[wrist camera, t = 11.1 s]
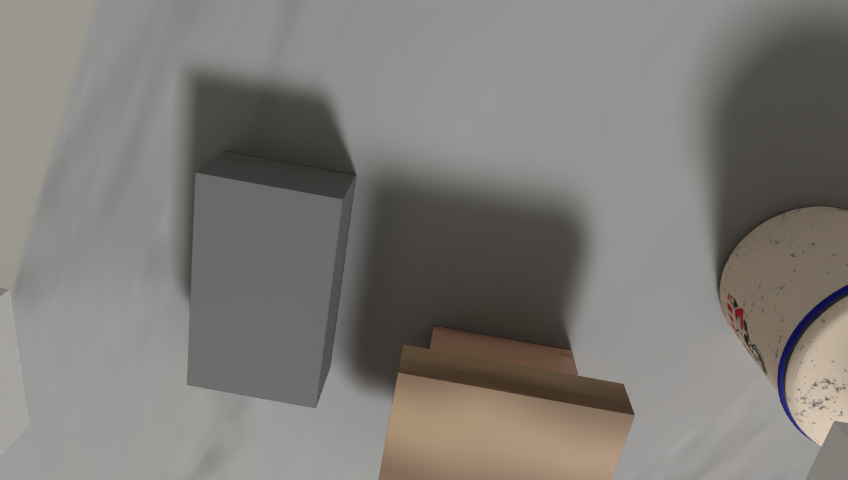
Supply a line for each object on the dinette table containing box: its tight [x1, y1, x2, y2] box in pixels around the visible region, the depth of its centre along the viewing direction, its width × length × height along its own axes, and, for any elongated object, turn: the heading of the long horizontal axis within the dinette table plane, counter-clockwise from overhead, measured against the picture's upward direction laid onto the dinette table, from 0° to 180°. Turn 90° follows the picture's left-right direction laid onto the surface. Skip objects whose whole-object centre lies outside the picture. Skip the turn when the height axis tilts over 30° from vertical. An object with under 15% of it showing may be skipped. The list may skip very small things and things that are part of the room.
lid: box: [379, 344, 635, 480], centre depth 34 cm, size 11×11×2 cm
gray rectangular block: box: [187, 151, 356, 408], centre depth 36 cm, size 12×7×4 cm, turn 170°
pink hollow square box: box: [429, 326, 578, 376], centre depth 37 cm, size 8×8×5 cm
